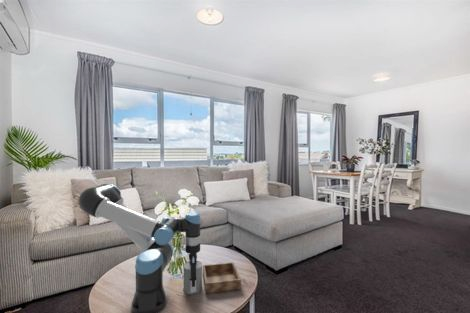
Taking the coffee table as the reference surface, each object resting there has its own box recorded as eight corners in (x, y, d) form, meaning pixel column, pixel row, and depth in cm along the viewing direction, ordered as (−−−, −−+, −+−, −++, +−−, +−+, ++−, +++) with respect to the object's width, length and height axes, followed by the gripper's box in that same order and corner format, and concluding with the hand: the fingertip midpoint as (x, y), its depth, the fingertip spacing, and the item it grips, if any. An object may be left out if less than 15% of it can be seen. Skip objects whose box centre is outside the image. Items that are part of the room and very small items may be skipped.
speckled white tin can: (198, 295, 115) (198, 270, 115) (180, 292, 117) (180, 268, 117) (204, 284, 125) (204, 261, 124) (187, 282, 126) (187, 259, 126)
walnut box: (205, 294, 116) (205, 283, 116) (202, 274, 134) (202, 265, 134) (240, 290, 120) (240, 279, 119) (233, 271, 138) (233, 262, 138)
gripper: (202, 253, 109) (201, 298, 109) (198, 234, 133) (198, 271, 134) (185, 254, 107) (185, 300, 108) (185, 235, 132) (185, 272, 132)
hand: (192, 284), depth 121 cm, fingers open, 13 cm apart
